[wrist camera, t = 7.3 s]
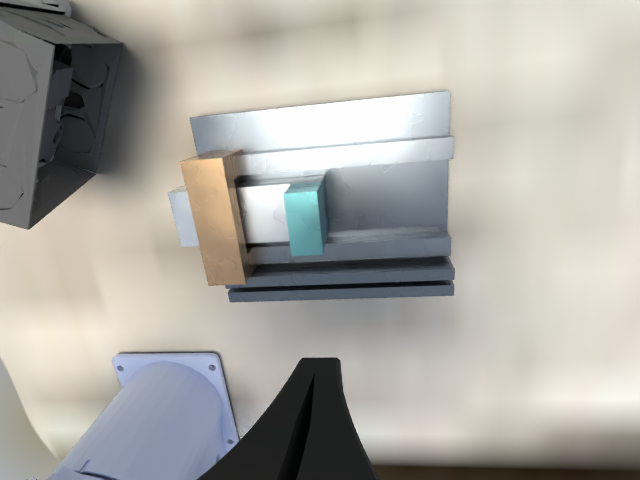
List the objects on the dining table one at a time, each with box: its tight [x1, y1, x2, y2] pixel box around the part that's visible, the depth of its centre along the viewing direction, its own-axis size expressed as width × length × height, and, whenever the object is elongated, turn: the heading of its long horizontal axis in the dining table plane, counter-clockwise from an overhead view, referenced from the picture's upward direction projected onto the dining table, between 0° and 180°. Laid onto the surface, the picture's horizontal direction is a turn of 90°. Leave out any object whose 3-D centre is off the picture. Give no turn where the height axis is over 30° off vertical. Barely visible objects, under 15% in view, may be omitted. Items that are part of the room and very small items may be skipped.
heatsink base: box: [180, 91, 455, 302], centre depth 19 cm, size 10×13×4 cm
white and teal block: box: [168, 175, 330, 256], centre depth 19 cm, size 3×8×4 cm, turn 95°
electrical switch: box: [0, 0, 122, 230], centre depth 17 cm, size 9×5×9 cm, turn 155°
